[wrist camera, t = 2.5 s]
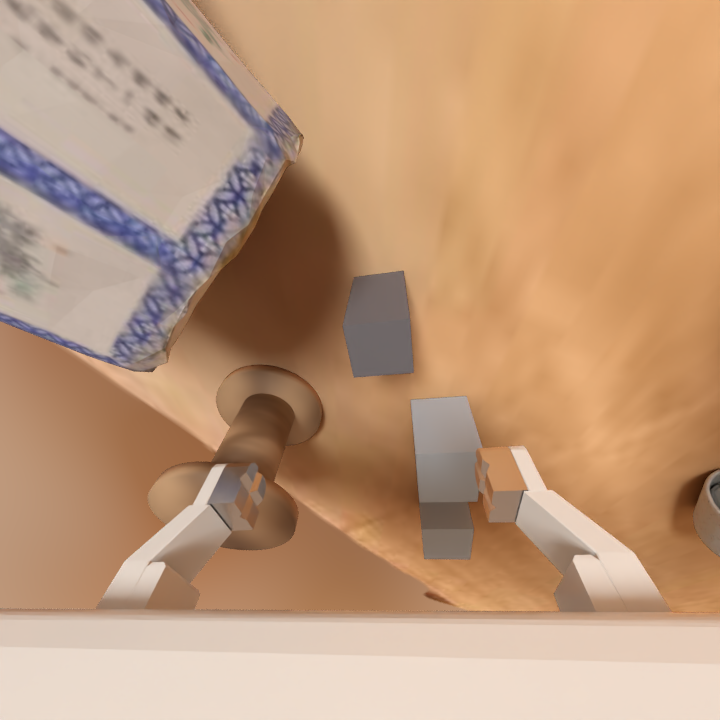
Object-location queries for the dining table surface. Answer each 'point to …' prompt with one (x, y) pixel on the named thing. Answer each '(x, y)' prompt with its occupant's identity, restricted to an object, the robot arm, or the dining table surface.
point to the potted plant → (125, 170)
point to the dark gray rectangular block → (378, 326)
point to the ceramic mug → (709, 513)
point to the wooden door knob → (250, 450)
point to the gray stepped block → (445, 474)
